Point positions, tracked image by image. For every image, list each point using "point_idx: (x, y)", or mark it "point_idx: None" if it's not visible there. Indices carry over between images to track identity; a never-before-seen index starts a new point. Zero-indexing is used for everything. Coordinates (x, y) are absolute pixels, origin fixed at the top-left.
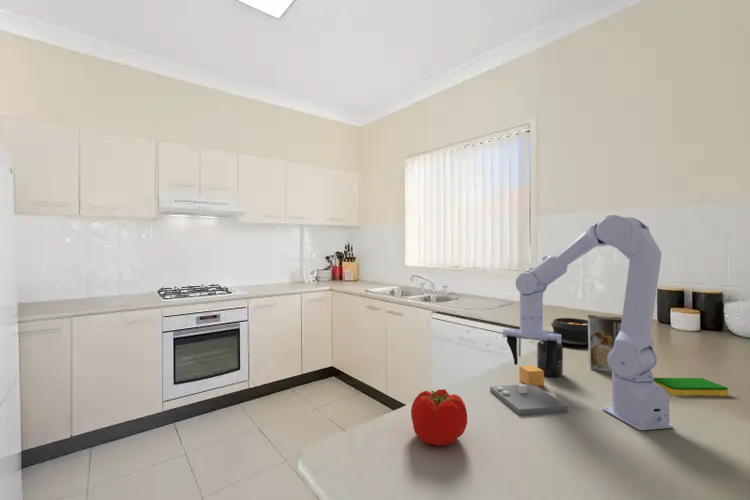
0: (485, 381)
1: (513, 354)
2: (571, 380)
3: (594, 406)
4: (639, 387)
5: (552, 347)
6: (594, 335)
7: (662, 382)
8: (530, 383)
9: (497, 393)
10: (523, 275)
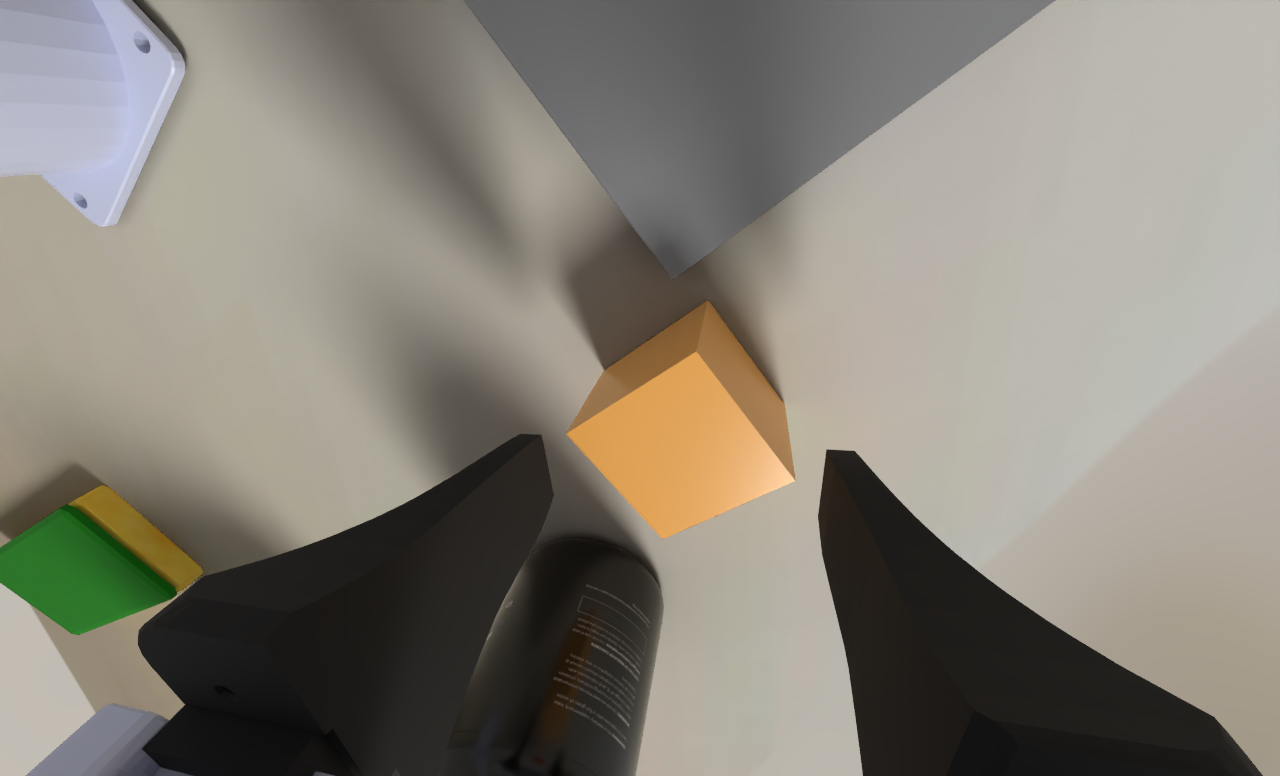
0: (1154, 243)
1: (913, 527)
2: None
3: (251, 114)
4: None
5: (233, 586)
6: None
7: (117, 556)
8: (693, 317)
9: None
10: None
